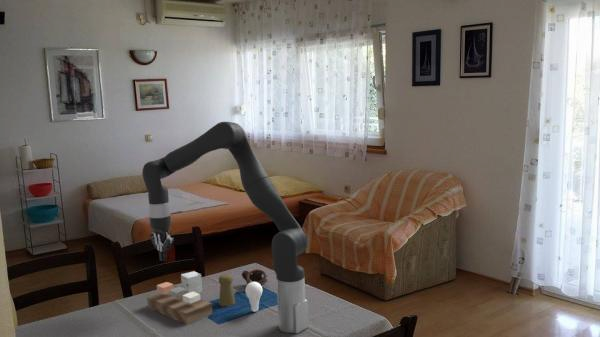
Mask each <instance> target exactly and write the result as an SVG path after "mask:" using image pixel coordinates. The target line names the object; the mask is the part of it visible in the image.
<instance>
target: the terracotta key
mask: <svg viewBox="0 0 600 337" xmlns="http://www.w3.org/2000/svg"><path fill="white" fill-rule="evenodd" d="M174 288H175V285H174V283H172V282H168V281H165V282H161V283H159V284H157V285H156V291H158V292H159V293H160V292H162V293H166V292H169V290H171V289H174Z"/></svg>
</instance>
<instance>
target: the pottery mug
mask: <svg viewBox="0 0 600 337" xmlns="http://www.w3.org/2000/svg"><path fill="white" fill-rule="evenodd" d="M241 277H242V279H244V281H246V284H247V285H248V284H249V283H251V282H258V283H259V284H260V285H261V286H262V287H263V286H264V285H265V284H266V283H268V279H267V277H268V275H267V273H266V272H265V271H264V270H262V269H259V268H255V269H254V268H253V269H251V270H250V271H248V270H243V271H242V273H241Z"/></svg>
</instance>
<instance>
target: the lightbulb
mask: <svg viewBox="0 0 600 337" xmlns="http://www.w3.org/2000/svg"><path fill="white" fill-rule="evenodd" d="M250 282H251V283H249V284H247V285H246V287H245V291H244V292H245V295H246V297H247V299H248V300H249V305H250V310H251V311H252V312H254V313H257V312H258V311H259V306H260V305H259V304H260V298H261V296H262V295H263V285H262V286H261V285H260V284H259V283H258V282H252V281H250Z"/></svg>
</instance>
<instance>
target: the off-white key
mask: <svg viewBox="0 0 600 337" xmlns="http://www.w3.org/2000/svg"><path fill="white" fill-rule="evenodd" d="M201 296H202V295H201V293H196V292H190V293H187V294H185V295H183V301H185V302H188V303H190V304H191V303H194V302H196V301H199V300H201V299H202V297H201Z"/></svg>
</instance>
